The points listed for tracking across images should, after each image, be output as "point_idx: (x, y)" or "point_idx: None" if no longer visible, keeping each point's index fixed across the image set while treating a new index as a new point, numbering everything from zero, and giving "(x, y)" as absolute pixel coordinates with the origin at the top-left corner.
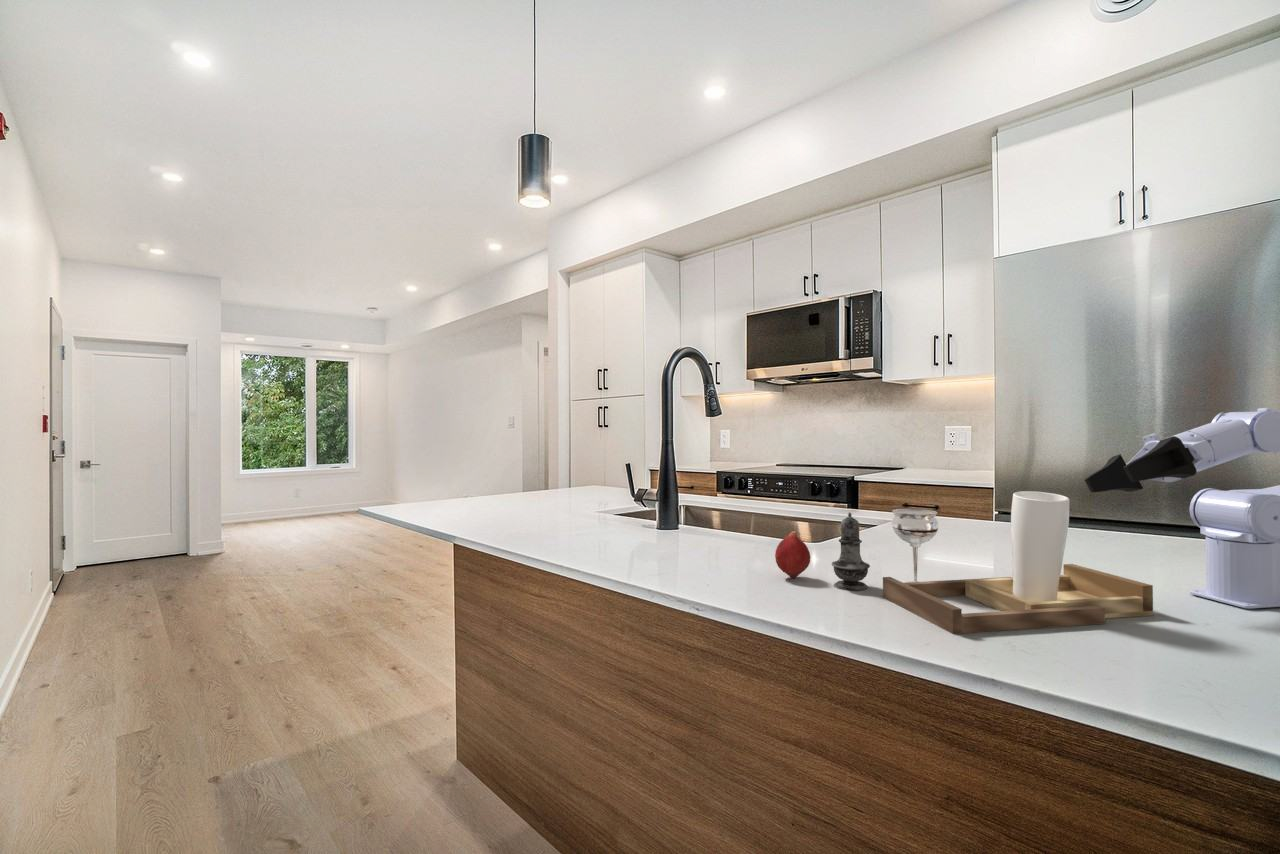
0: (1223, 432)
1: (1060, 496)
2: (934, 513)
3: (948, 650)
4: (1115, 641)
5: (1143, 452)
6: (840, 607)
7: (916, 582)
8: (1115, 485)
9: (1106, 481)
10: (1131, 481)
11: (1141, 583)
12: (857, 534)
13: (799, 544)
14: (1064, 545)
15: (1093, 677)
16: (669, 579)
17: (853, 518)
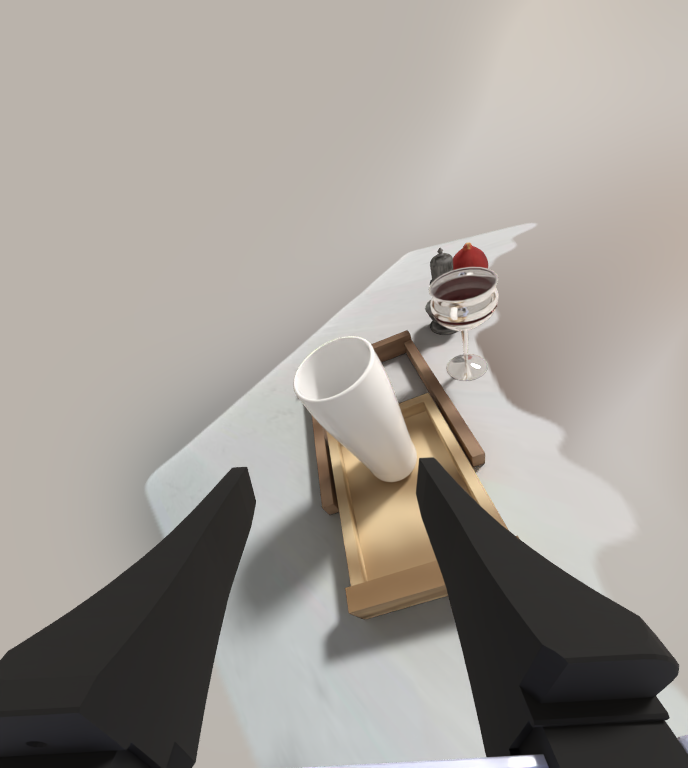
0: None
1: (337, 395)
2: (443, 300)
3: (284, 379)
4: (279, 494)
5: None
6: (375, 327)
7: (420, 356)
8: (449, 581)
9: (440, 535)
10: (482, 691)
11: (361, 599)
12: (435, 277)
13: (457, 260)
14: (339, 442)
15: (228, 442)
16: (437, 246)
17: (440, 257)
